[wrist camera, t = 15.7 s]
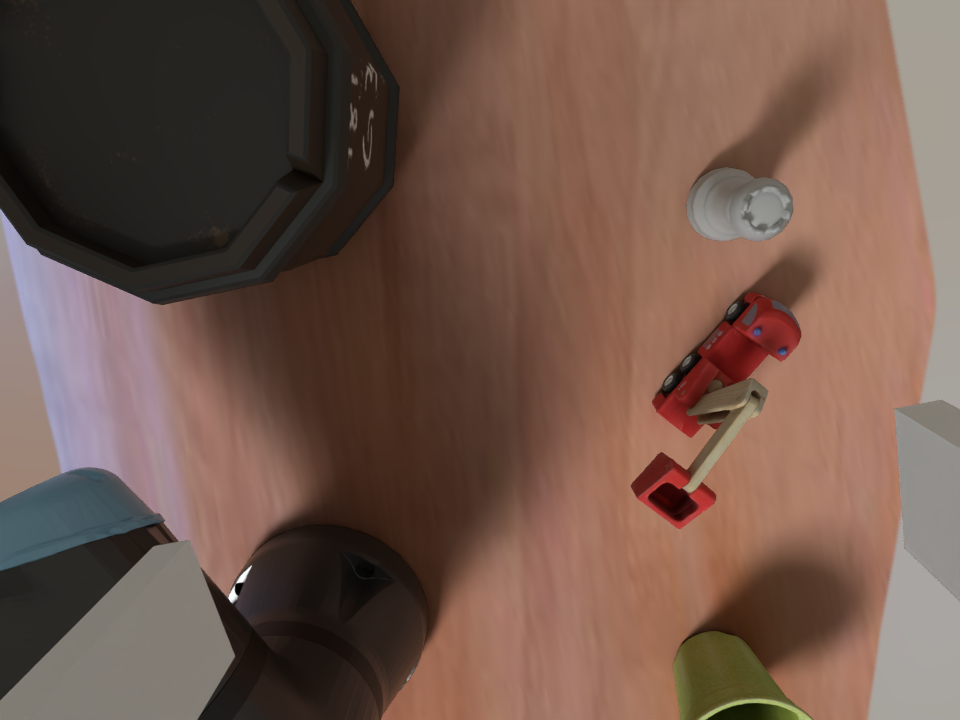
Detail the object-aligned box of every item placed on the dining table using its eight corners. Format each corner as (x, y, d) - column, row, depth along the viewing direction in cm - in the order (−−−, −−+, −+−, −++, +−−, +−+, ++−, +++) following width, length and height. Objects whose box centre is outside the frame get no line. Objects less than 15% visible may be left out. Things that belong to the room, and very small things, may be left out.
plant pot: (741, 589, 48) (788, 677, 39) (797, 681, 50) (854, 782, 41) (629, 643, 50) (651, 737, 41) (688, 729, 51) (720, 836, 43)
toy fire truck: (788, 313, 42) (864, 352, 33) (648, 464, 45) (681, 537, 36) (750, 282, 42) (816, 312, 32) (611, 437, 45) (635, 504, 36)
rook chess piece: (674, 184, 40) (711, 186, 33) (745, 155, 40) (799, 149, 32) (696, 251, 41) (737, 267, 34) (765, 224, 41) (823, 234, 33)
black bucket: (69, 75, 41) (-198, 14, 26) (300, -96, 37) (149, -283, 22) (234, 318, 44) (87, 391, 29) (457, 183, 41) (421, 186, 26)
